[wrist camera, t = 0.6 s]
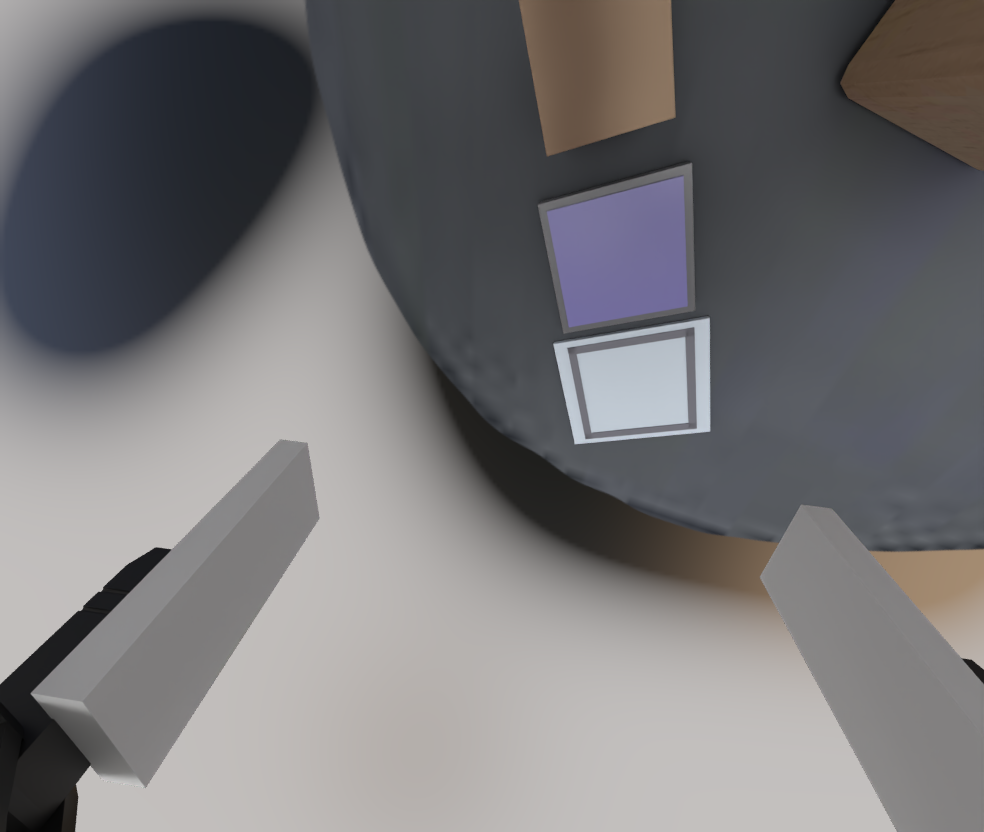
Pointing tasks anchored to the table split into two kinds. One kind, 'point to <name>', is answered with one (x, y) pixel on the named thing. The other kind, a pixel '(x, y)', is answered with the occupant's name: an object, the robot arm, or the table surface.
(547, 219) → the ink pad
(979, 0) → the wooden block
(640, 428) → the print card
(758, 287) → the table surface
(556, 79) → the stamp
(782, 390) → the table surface
